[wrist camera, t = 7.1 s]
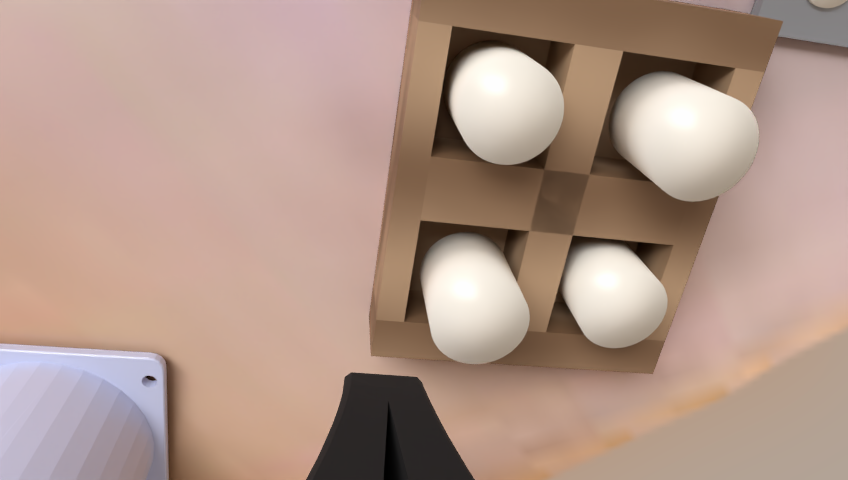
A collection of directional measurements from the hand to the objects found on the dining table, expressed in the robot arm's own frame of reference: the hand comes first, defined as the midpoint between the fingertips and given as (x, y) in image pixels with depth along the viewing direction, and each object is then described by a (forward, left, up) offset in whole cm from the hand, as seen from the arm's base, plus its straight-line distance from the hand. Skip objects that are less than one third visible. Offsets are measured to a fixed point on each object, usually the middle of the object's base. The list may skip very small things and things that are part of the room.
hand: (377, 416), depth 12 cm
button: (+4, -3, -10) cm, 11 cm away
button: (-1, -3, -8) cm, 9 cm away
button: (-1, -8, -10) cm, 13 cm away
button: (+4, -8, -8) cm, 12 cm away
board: (+2, -6, -10) cm, 12 cm away
